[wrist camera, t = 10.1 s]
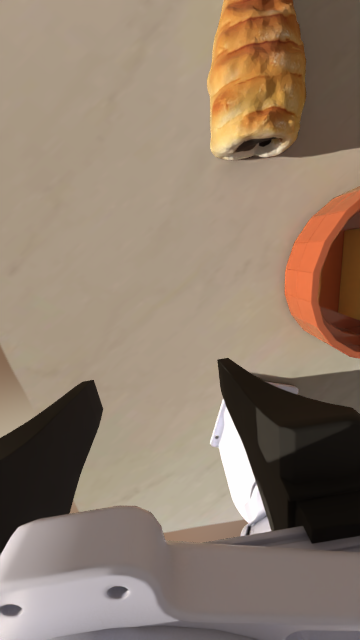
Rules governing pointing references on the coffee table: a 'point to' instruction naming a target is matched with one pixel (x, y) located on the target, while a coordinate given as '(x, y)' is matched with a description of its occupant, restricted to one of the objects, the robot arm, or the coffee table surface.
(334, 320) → the bowl
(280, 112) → the pastry
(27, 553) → the robot arm
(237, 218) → the coffee table surface
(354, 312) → the butter
